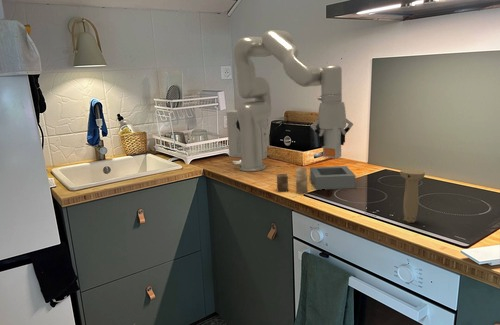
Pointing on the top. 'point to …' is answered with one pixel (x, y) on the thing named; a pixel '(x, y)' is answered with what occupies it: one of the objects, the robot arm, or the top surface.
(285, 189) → the short walnut dowel
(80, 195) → the top surface
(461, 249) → the top surface
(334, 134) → the skincare box
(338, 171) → the socket block
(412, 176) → the handle
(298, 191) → the grey brown upright block
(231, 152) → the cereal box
